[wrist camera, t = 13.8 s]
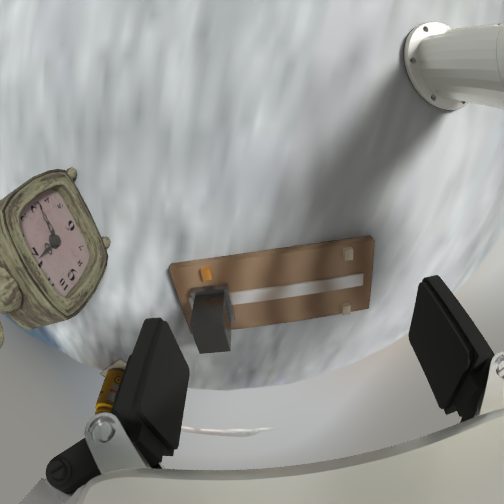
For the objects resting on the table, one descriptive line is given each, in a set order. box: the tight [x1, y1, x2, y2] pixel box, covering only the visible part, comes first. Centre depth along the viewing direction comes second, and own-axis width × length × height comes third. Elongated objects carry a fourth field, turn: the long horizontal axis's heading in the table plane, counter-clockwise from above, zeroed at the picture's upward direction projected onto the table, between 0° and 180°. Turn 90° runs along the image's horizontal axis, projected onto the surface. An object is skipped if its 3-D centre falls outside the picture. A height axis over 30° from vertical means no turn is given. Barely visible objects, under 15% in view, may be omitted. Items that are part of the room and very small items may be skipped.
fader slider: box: [190, 283, 235, 354], centre depth 40 cm, size 5×6×7 cm
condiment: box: [95, 359, 127, 415], centre depth 49 cm, size 7×8×12 cm
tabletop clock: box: [0, 168, 110, 348], centre depth 27 cm, size 14×9×25 cm, turn 18°
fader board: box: [169, 236, 375, 334], centre depth 43 cm, size 28×12×2 cm, turn 98°
